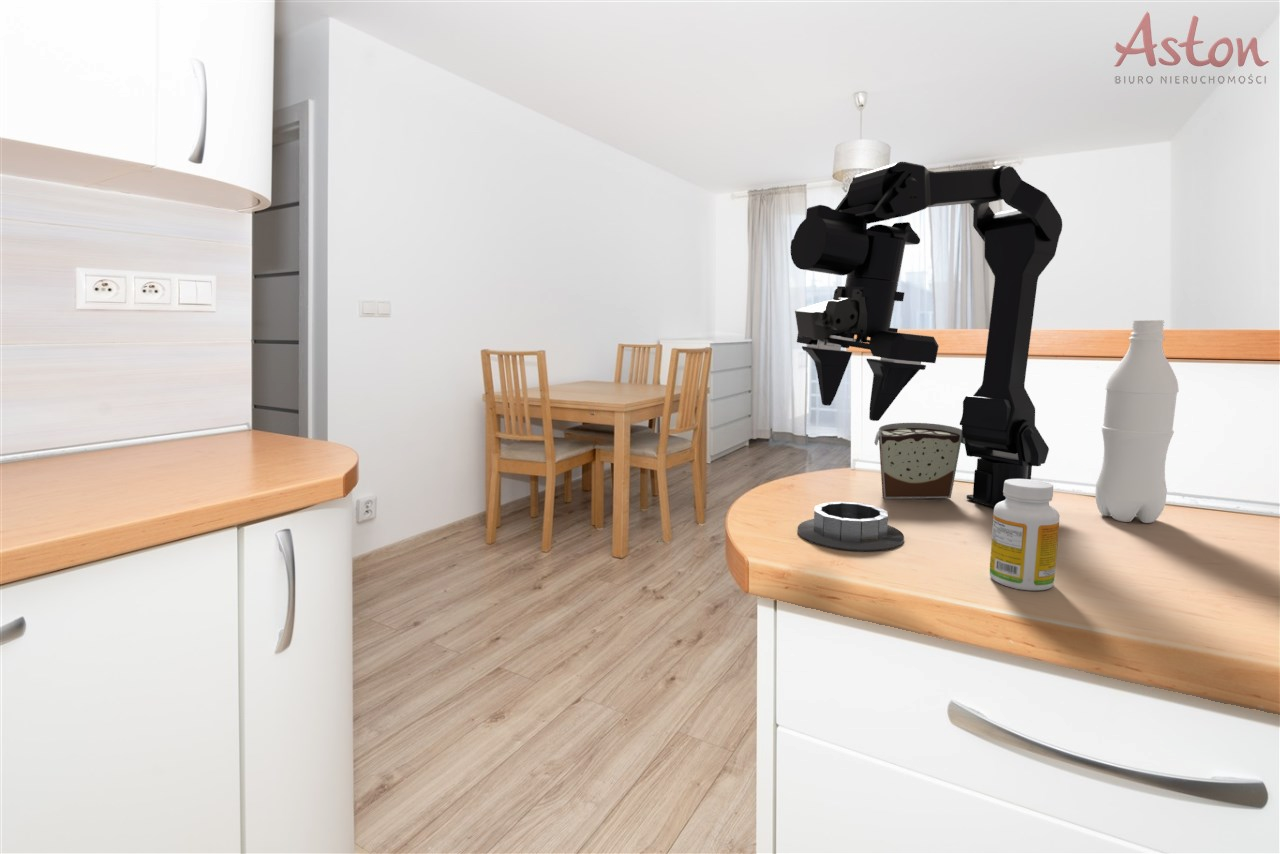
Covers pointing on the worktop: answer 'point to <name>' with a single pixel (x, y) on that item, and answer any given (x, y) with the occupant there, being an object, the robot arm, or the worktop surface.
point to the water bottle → (1137, 429)
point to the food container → (918, 459)
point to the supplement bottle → (1025, 536)
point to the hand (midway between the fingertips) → (848, 412)
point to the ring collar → (850, 527)
